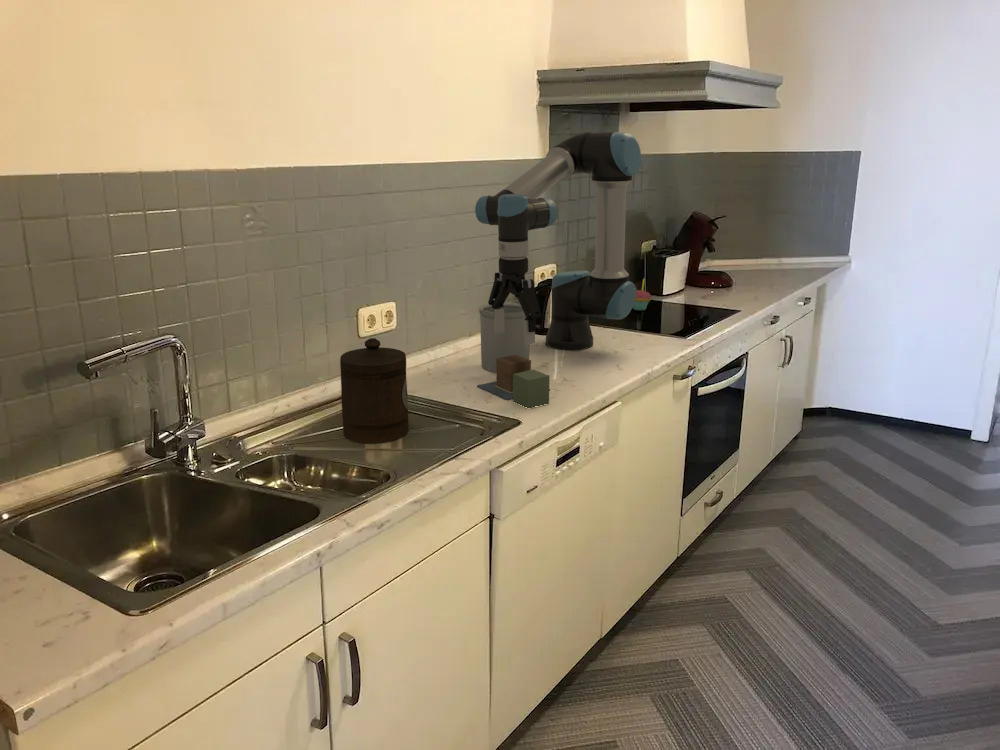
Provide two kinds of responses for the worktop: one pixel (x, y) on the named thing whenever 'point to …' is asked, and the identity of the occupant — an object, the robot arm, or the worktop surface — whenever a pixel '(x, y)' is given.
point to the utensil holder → (502, 335)
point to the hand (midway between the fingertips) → (514, 338)
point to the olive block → (531, 388)
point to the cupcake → (641, 299)
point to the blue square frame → (497, 390)
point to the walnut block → (510, 370)
